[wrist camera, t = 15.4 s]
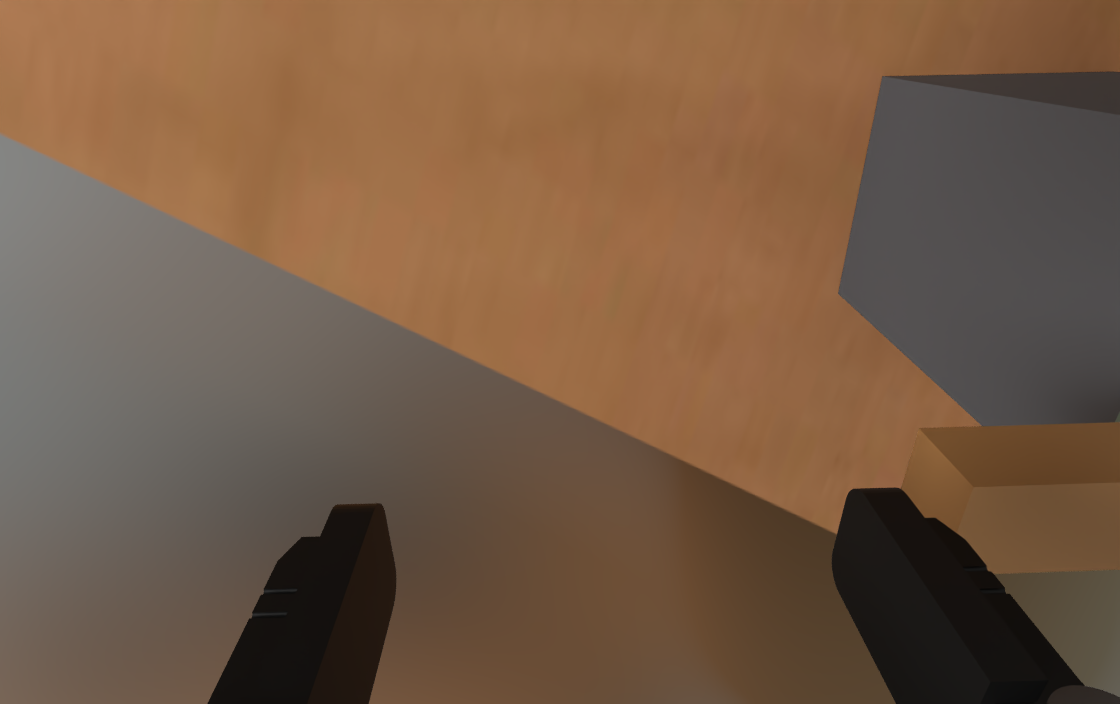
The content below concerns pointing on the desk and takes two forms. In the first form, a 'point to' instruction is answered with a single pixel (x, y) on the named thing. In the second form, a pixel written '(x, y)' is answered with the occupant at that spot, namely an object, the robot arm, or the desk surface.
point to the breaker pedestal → (996, 240)
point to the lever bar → (1024, 493)
